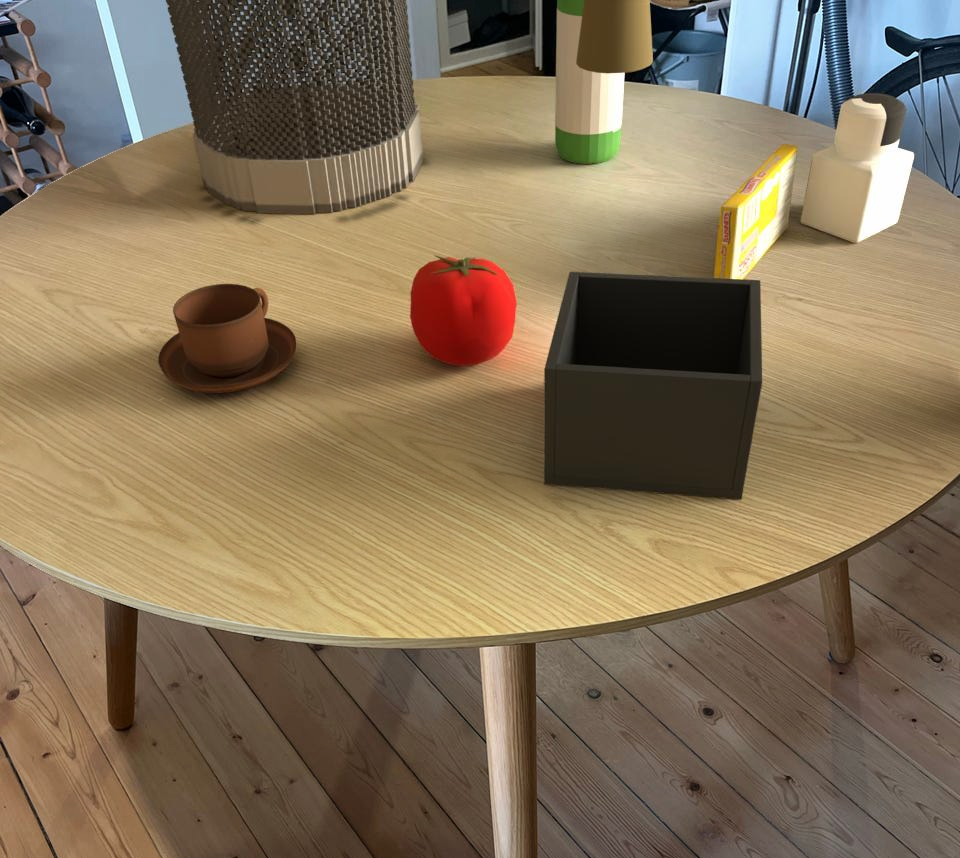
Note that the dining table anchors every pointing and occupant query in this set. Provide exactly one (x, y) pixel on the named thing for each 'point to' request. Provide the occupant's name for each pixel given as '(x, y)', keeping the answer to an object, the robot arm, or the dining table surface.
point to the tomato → (462, 310)
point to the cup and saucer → (225, 340)
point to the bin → (653, 384)
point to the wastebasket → (299, 102)
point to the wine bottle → (584, 97)
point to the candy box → (755, 215)
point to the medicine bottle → (860, 171)
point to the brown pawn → (615, 36)
